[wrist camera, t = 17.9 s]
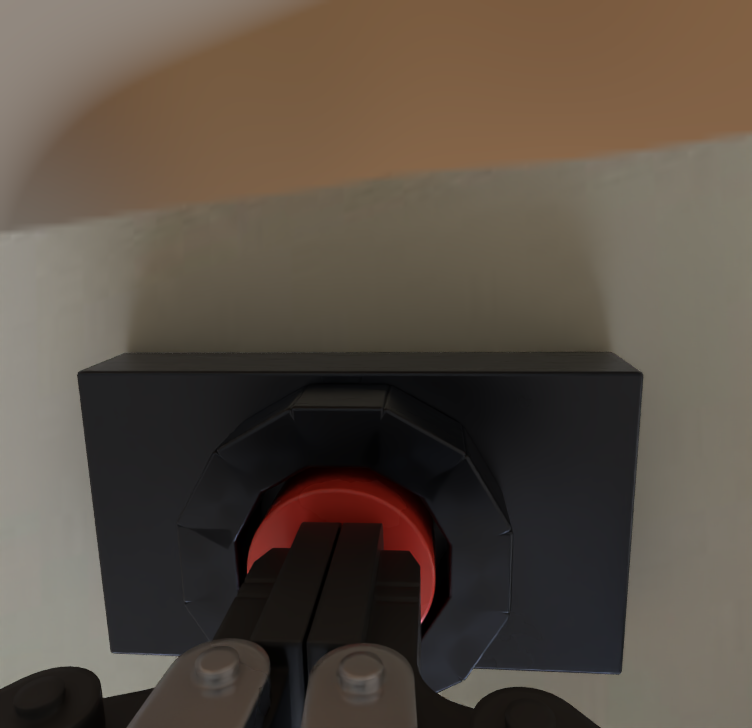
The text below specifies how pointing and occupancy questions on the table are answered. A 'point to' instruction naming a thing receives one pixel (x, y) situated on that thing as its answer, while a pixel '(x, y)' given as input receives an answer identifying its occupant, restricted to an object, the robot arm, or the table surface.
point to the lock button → (352, 515)
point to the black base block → (389, 459)
